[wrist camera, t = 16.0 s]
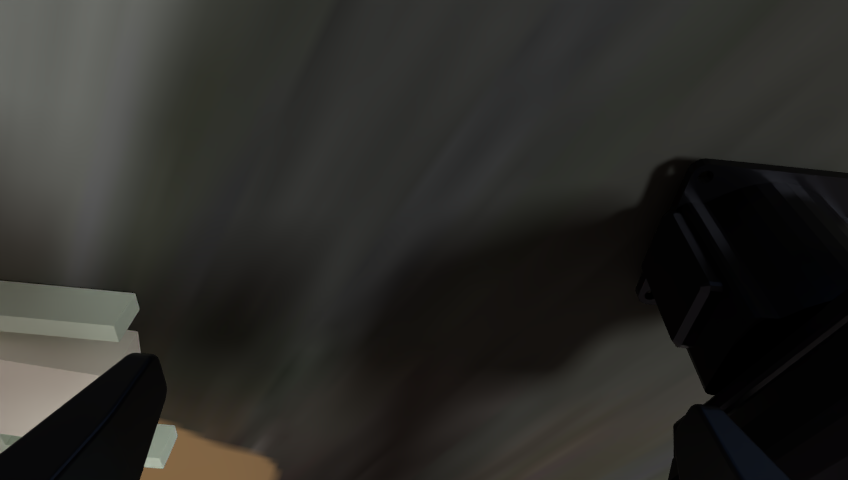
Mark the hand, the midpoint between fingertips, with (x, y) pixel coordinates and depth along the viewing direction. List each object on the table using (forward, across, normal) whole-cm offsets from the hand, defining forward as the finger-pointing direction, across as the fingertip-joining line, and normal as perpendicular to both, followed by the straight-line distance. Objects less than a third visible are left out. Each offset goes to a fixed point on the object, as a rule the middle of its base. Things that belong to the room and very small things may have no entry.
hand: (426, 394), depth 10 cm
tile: (+12, +16, +16) cm, 26 cm away
